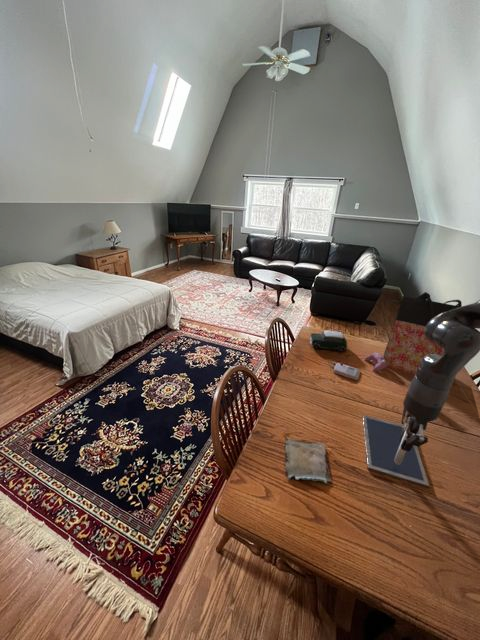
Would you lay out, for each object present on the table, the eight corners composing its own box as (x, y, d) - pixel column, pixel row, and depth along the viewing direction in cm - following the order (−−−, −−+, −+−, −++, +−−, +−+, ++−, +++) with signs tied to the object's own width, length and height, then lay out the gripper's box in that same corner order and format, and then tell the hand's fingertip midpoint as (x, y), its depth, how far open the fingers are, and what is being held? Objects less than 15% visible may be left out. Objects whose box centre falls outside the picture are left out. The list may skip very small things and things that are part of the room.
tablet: (410, 429, 89) (411, 427, 88) (428, 488, 71) (429, 485, 70) (362, 416, 93) (362, 414, 92) (367, 469, 75) (368, 467, 74)
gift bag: (446, 370, 121) (479, 298, 106) (450, 387, 110) (487, 309, 95) (376, 351, 134) (396, 283, 119) (372, 364, 123) (395, 292, 108)
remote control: (362, 382, 110) (363, 376, 109) (324, 369, 117) (325, 363, 116) (364, 374, 115) (366, 368, 114) (328, 362, 123) (329, 357, 121)
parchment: (284, 478, 71) (285, 476, 71) (284, 438, 83) (284, 436, 82) (332, 486, 70) (333, 484, 69) (325, 444, 81) (325, 442, 81)
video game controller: (380, 375, 118) (391, 364, 115) (372, 371, 117) (383, 359, 114) (370, 363, 127) (380, 351, 124) (362, 359, 126) (372, 347, 123)
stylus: (399, 461, 75) (413, 427, 70) (401, 466, 74) (415, 432, 68) (392, 459, 76) (406, 425, 70) (394, 464, 74) (407, 430, 69)
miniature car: (308, 340, 141) (311, 326, 138) (344, 344, 139) (347, 330, 135) (309, 348, 133) (312, 334, 130) (347, 353, 131) (351, 339, 127)
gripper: (454, 420, 58) (427, 473, 65) (435, 382, 70) (413, 430, 77) (415, 410, 60) (393, 463, 67) (403, 375, 72) (385, 423, 79)
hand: (404, 445), depth 72 cm, fingers closed on stylus, 2 cm apart
